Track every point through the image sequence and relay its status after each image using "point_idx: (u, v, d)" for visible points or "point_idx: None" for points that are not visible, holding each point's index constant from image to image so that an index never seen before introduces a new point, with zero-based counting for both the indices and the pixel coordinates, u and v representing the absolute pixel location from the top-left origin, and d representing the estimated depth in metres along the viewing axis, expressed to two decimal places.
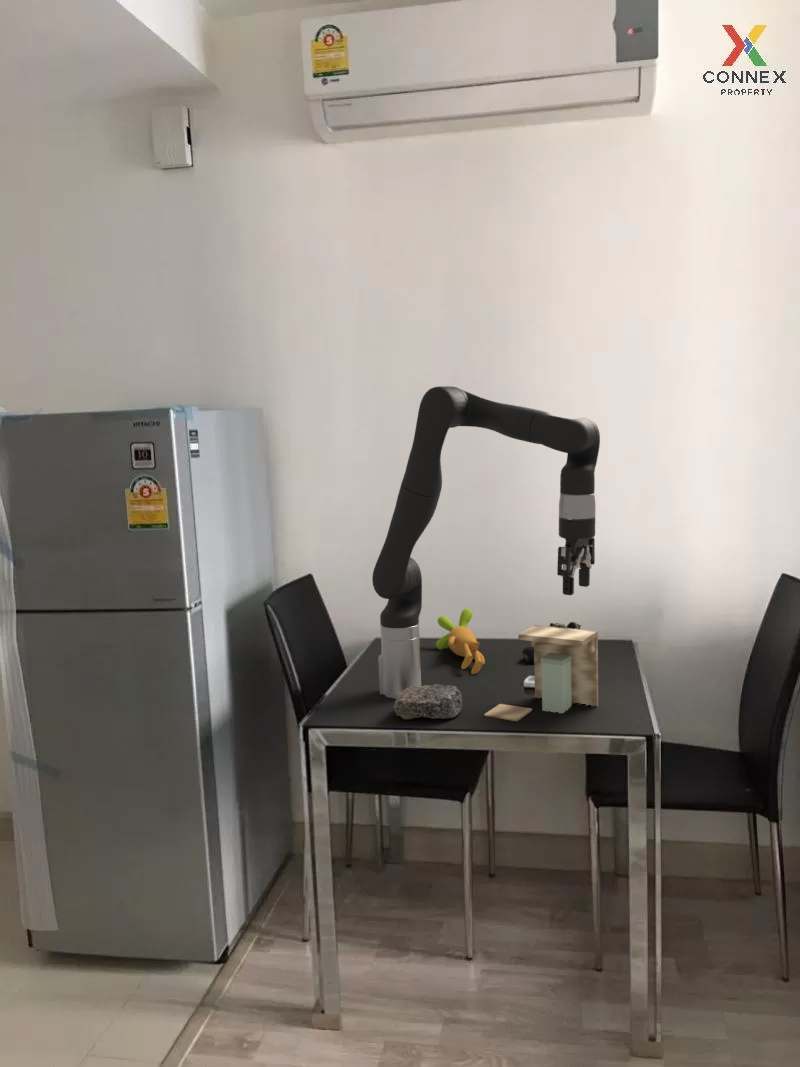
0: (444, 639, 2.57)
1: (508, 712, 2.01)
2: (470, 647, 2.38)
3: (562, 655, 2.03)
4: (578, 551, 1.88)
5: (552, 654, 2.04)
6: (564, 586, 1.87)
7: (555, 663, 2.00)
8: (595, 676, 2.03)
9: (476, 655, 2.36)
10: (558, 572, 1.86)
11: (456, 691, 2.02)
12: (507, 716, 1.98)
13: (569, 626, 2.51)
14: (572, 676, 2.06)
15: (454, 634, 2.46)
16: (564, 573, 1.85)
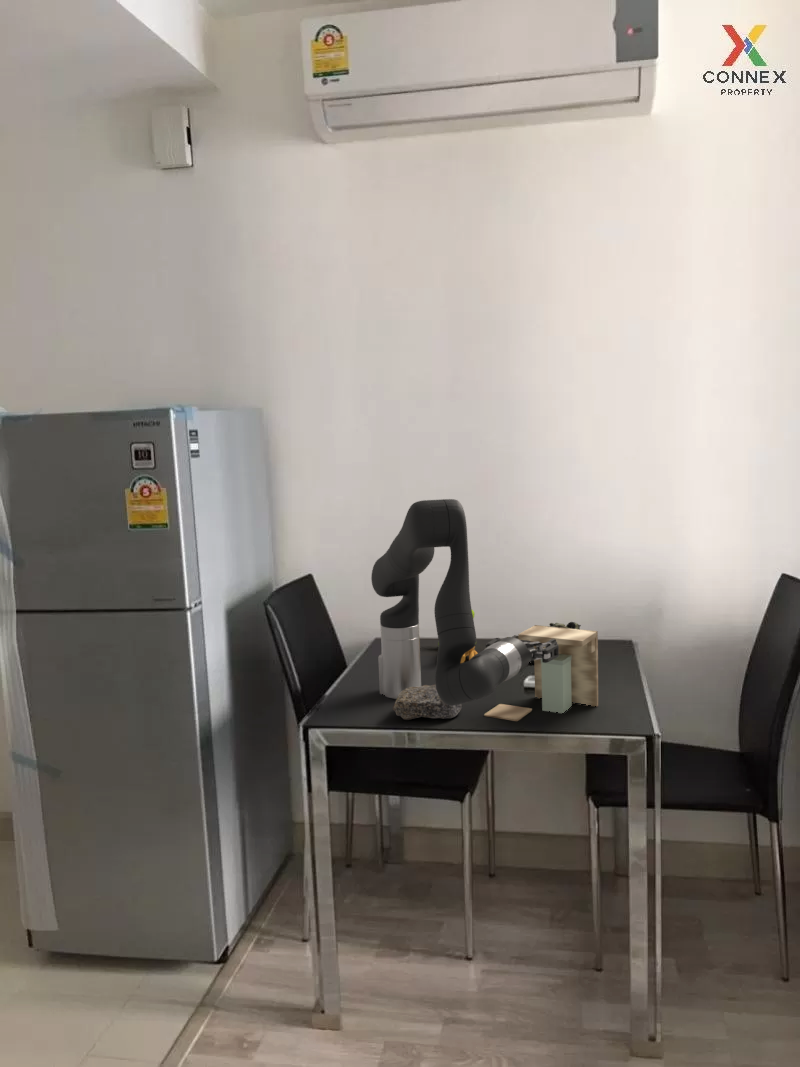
0: None
1: (508, 712, 2.01)
2: None
3: (562, 655, 2.03)
4: None
5: None
6: None
7: (555, 663, 2.00)
8: (595, 676, 2.03)
9: (470, 656, 2.36)
10: None
11: None
12: (507, 716, 1.98)
13: (568, 626, 2.51)
14: (572, 676, 2.06)
15: None
16: None
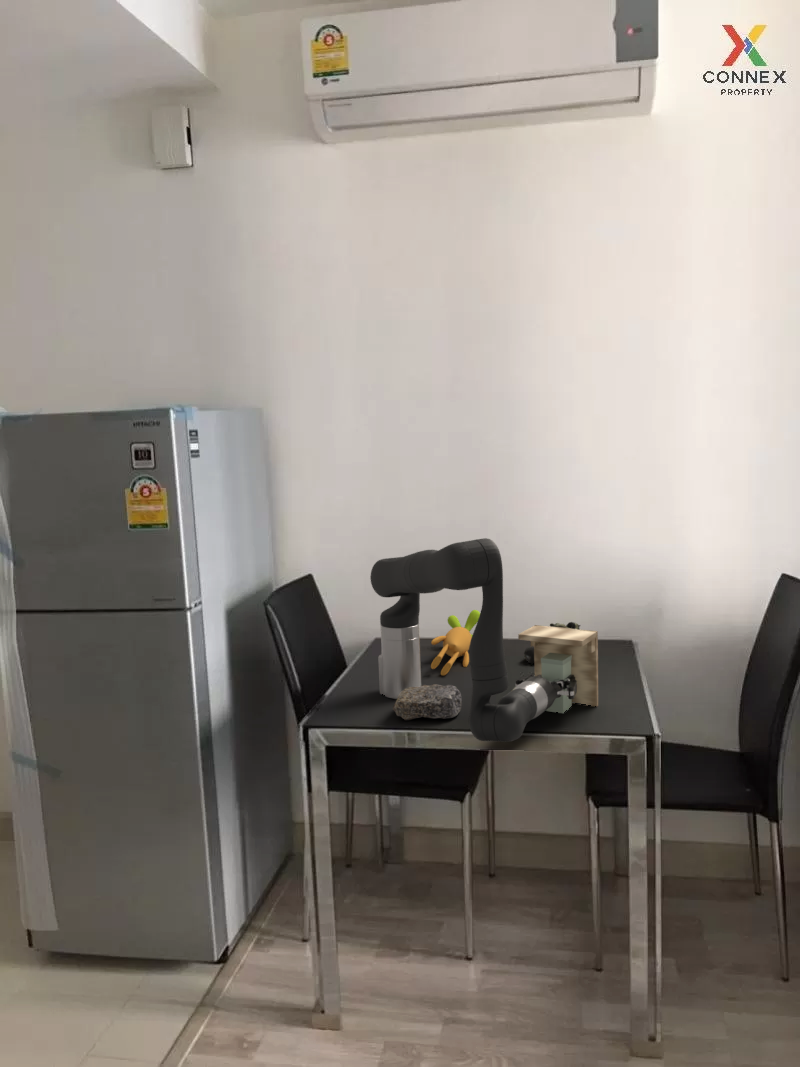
0: None
1: None
2: (449, 648, 2.38)
3: (562, 655, 2.03)
4: None
5: (552, 654, 2.04)
6: None
7: (555, 663, 2.00)
8: (595, 676, 2.03)
9: (452, 657, 2.36)
10: None
11: (456, 691, 2.03)
12: None
13: (568, 626, 2.50)
14: None
15: (447, 634, 2.47)
16: None
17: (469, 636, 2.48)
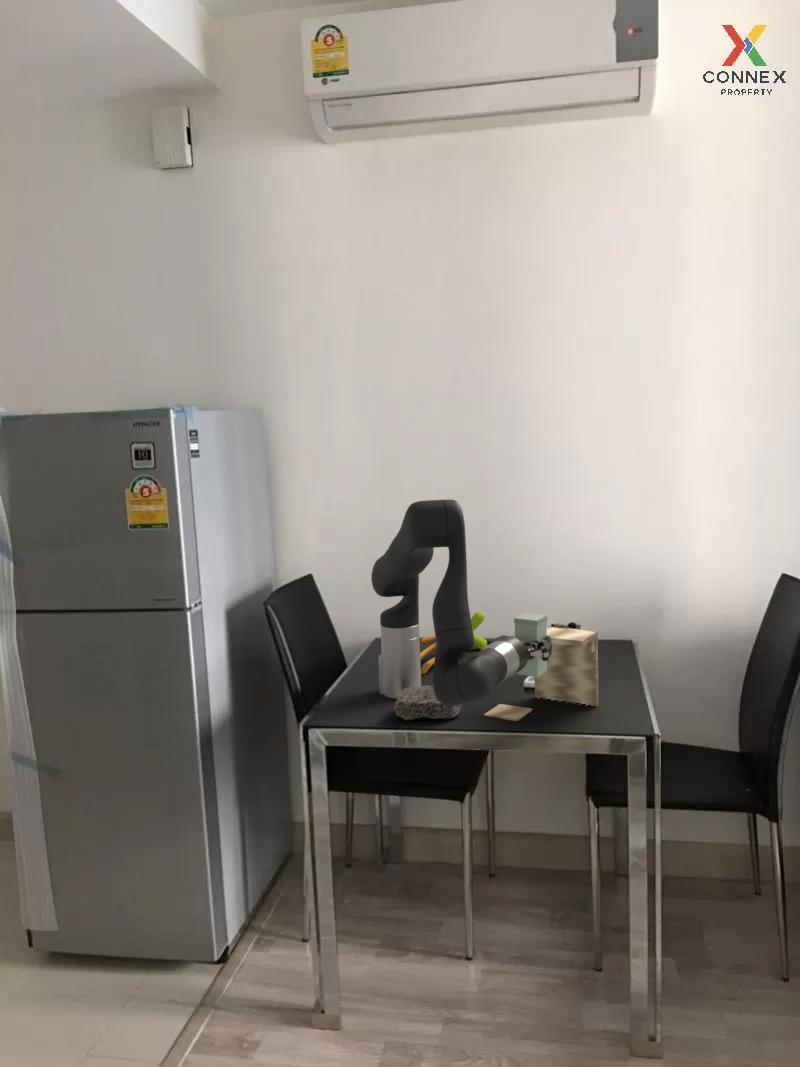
0: None
1: (508, 712, 2.01)
2: (435, 648, 2.39)
3: (537, 615, 1.90)
4: None
5: (527, 614, 1.91)
6: None
7: (529, 623, 1.87)
8: (595, 676, 2.03)
9: None
10: None
11: None
12: (507, 716, 1.98)
13: (569, 626, 2.50)
14: (572, 676, 2.06)
15: None
16: None
17: None
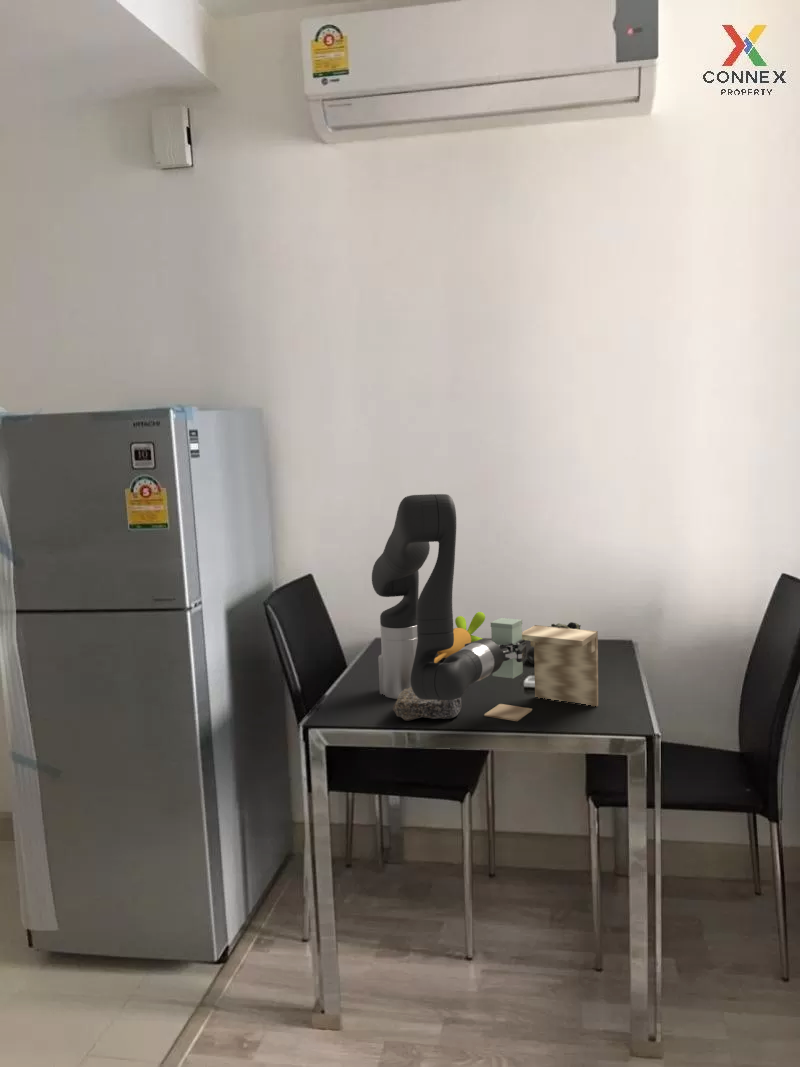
0: None
1: (508, 712, 2.01)
2: None
3: (513, 619, 2.00)
4: None
5: (503, 619, 2.01)
6: None
7: (505, 627, 1.96)
8: (595, 676, 2.03)
9: None
10: None
11: None
12: (507, 716, 1.98)
13: (569, 626, 2.50)
14: (572, 676, 2.06)
15: None
16: None
17: (465, 638, 2.46)
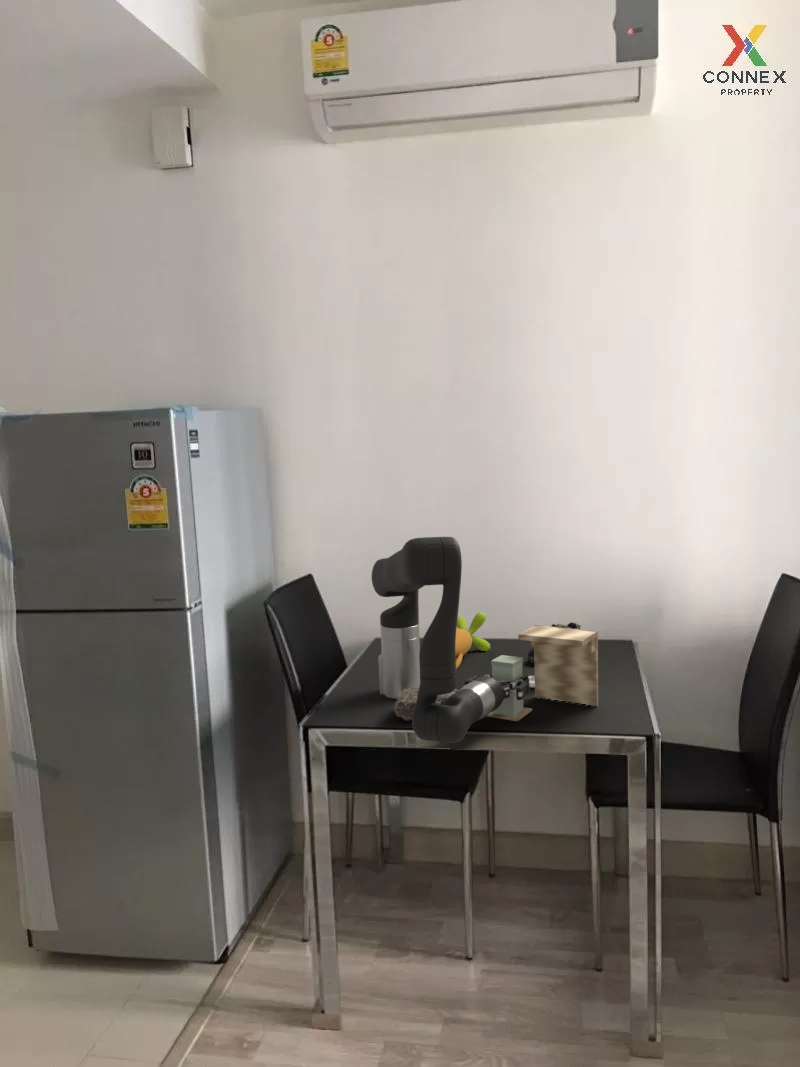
0: None
1: None
2: None
3: (513, 657, 2.01)
4: None
5: (503, 656, 2.02)
6: None
7: (505, 665, 1.98)
8: (595, 676, 2.03)
9: None
10: None
11: (455, 691, 2.02)
12: (507, 716, 1.98)
13: (569, 627, 2.50)
14: (572, 676, 2.06)
15: None
16: None
17: (466, 638, 2.45)
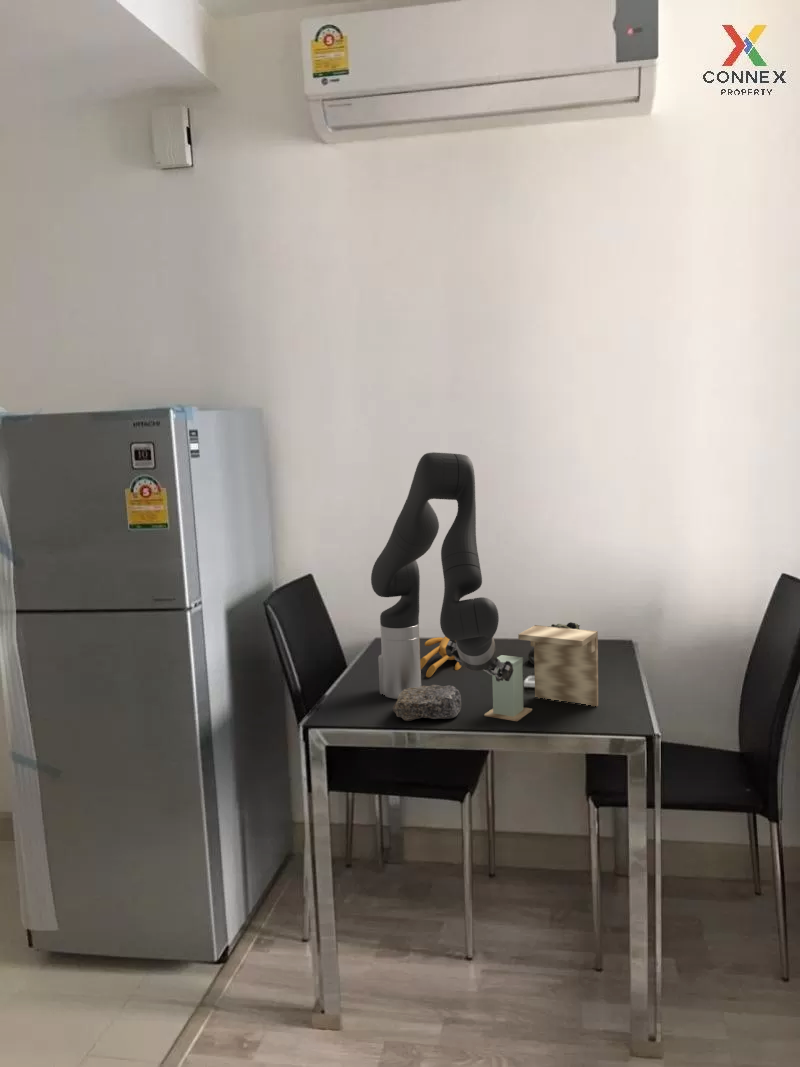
0: None
1: None
2: (440, 650, 2.36)
3: (513, 657, 2.01)
4: None
5: (503, 656, 2.02)
6: None
7: None
8: (595, 676, 2.03)
9: (440, 659, 2.34)
10: None
11: (455, 691, 2.02)
12: (507, 716, 1.98)
13: (568, 627, 2.50)
14: (572, 676, 2.06)
15: None
16: None
17: None
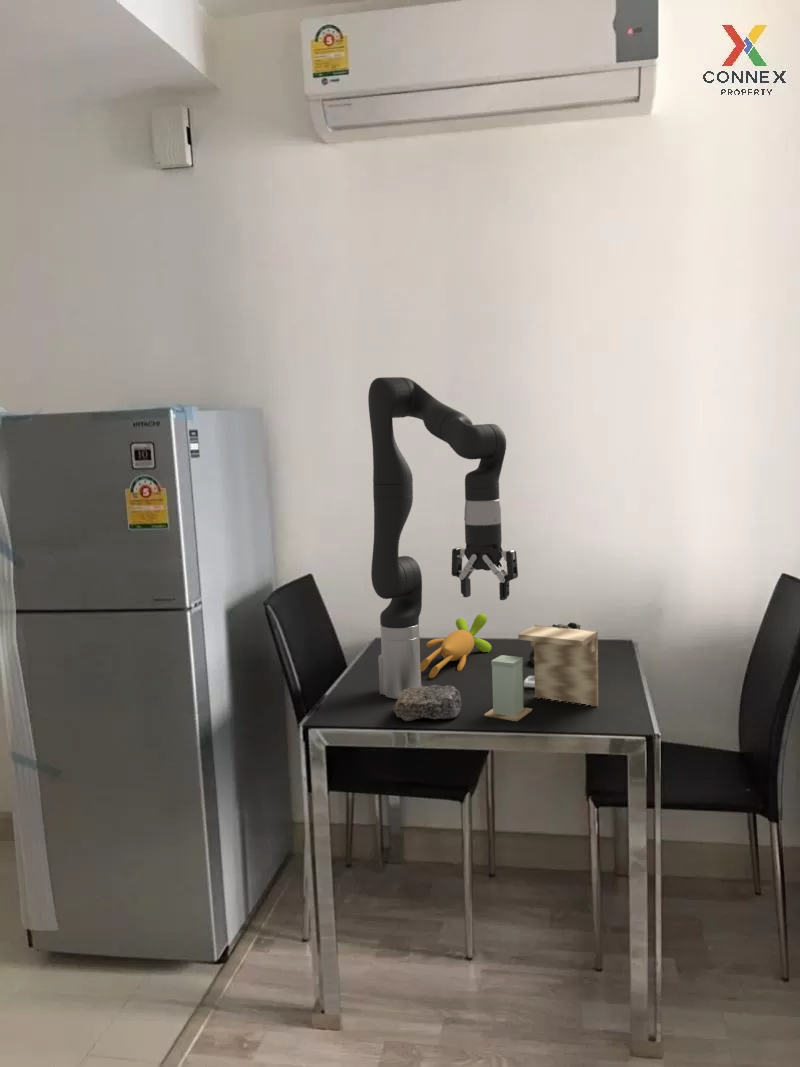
0: None
1: None
2: (442, 651, 2.35)
3: (513, 657, 2.01)
4: None
5: (503, 656, 2.02)
6: None
7: (505, 665, 1.98)
8: (595, 676, 2.03)
9: None
10: None
11: (455, 691, 2.02)
12: (507, 716, 1.98)
13: (569, 627, 2.50)
14: (572, 676, 2.06)
15: (446, 637, 2.44)
16: None
17: (469, 640, 2.44)
